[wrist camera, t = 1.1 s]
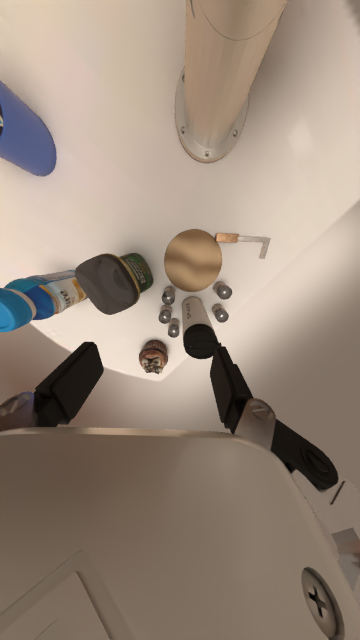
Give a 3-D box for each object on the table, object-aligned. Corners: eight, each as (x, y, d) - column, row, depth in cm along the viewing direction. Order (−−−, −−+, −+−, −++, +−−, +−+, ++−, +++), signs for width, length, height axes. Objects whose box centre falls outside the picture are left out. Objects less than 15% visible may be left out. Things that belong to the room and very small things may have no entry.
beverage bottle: (70, 262, 36) (-41, 273, 18) (99, 284, 38) (28, 313, 20) (57, 285, 38) (-50, 315, 21) (85, 304, 41) (12, 346, 23)
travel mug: (202, 315, 43) (218, 362, 25) (181, 315, 42) (182, 361, 25) (204, 296, 40) (224, 333, 22) (182, 295, 40) (184, 332, 22)
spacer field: (160, 279, 37) (157, 283, 32) (227, 282, 38) (235, 287, 32) (161, 328, 45) (159, 338, 39) (218, 330, 45) (223, 340, 40)
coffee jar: (158, 283, 38) (141, 308, 21) (134, 294, 39) (100, 325, 23) (140, 247, 34) (102, 244, 17) (114, 261, 35) (56, 270, 19)
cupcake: (138, 340, 47) (128, 361, 38) (165, 335, 46) (161, 356, 37) (147, 360, 51) (140, 384, 42) (171, 356, 50) (170, 379, 41)
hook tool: (212, 256, 35) (214, 256, 33) (215, 234, 33) (217, 233, 31) (262, 258, 35) (266, 258, 34) (269, 236, 33) (273, 235, 31)
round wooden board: (164, 228, 32) (163, 227, 32) (226, 231, 32) (227, 230, 32) (164, 290, 39) (164, 290, 39) (216, 292, 39) (216, 292, 39)
